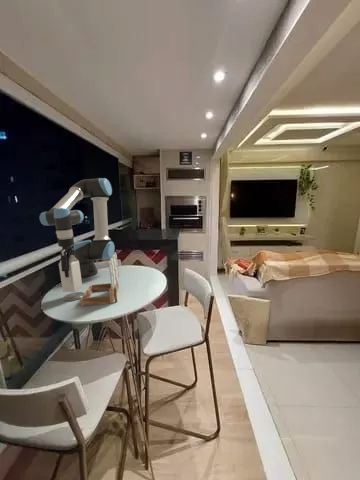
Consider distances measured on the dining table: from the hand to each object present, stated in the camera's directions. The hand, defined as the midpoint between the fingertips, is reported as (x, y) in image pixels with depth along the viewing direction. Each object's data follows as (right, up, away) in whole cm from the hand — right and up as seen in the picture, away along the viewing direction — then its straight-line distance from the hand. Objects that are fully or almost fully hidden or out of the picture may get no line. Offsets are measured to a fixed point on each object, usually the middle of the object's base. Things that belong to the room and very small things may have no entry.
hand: (71, 279), depth 137 cm
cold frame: (+16, -9, 0) cm, 18 cm away
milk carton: (0, -5, +1) cm, 6 cm away
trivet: (+1, -10, +2) cm, 10 cm away
